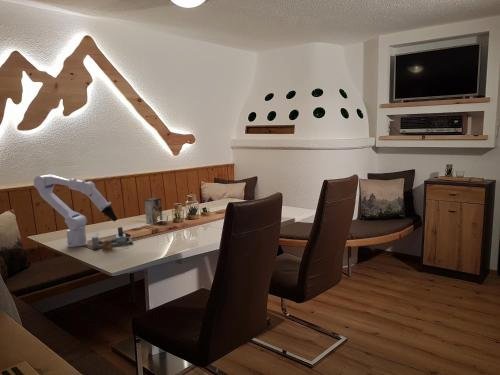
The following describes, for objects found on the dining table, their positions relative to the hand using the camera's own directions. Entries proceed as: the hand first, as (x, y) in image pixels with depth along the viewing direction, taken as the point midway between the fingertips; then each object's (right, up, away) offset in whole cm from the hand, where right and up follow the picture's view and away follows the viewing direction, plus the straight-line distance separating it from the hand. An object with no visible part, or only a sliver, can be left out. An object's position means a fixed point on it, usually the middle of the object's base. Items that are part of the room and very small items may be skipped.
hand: (115, 219), depth 207 cm
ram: (+1, -13, +5) cm, 14 cm away
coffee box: (+8, -7, +54) cm, 55 cm away
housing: (-2, -15, -6) cm, 16 cm away
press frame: (-3, -14, +4) cm, 15 cm away
